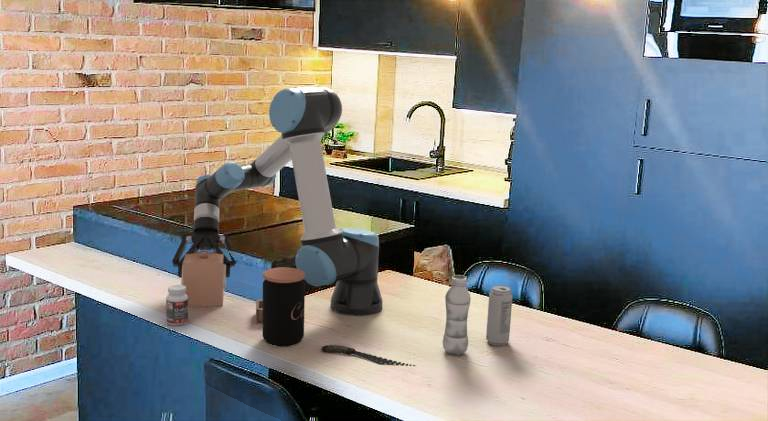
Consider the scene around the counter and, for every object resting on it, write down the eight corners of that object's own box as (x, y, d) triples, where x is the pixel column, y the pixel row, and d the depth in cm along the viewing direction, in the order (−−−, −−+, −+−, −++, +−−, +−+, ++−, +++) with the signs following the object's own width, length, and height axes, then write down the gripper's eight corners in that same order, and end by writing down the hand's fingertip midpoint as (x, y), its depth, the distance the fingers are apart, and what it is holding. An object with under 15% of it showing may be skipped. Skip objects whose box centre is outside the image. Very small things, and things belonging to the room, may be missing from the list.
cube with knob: (224, 293, 241) (224, 246, 238) (222, 306, 231) (222, 257, 227) (186, 294, 239) (186, 247, 236) (183, 306, 229) (182, 257, 226)
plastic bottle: (451, 359, 199) (455, 282, 195) (437, 349, 205) (441, 274, 201) (472, 355, 202) (477, 279, 198) (458, 345, 208) (462, 272, 204)
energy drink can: (495, 336, 216) (499, 283, 212) (513, 343, 212) (517, 288, 208) (481, 341, 212) (484, 287, 208) (499, 348, 207) (503, 293, 204)
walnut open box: (291, 312, 227) (291, 299, 226) (292, 322, 220) (293, 309, 219) (256, 313, 226) (256, 299, 225) (256, 323, 218) (256, 309, 217)
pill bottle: (177, 327, 213) (176, 292, 211) (161, 323, 216) (161, 287, 214) (192, 321, 218) (192, 286, 215) (177, 317, 221) (177, 282, 218)
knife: (422, 380, 190) (429, 370, 195) (423, 373, 190) (430, 364, 194) (317, 355, 200) (326, 346, 204) (317, 348, 199) (326, 340, 204)
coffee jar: (296, 349, 201) (297, 281, 198) (256, 344, 203) (256, 277, 200) (309, 334, 212) (310, 269, 208) (270, 330, 214) (271, 265, 210)
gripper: (245, 228, 248) (244, 292, 236) (167, 228, 244) (163, 293, 232) (245, 215, 241) (244, 280, 230) (165, 215, 238) (160, 281, 226)
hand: (203, 286), depth 231 cm, fingers closed on cube with knob, 11 cm apart
